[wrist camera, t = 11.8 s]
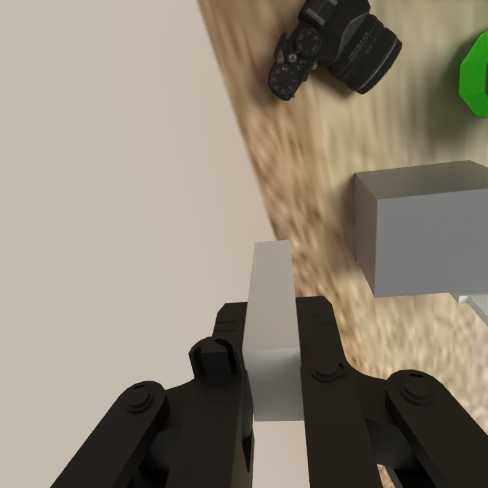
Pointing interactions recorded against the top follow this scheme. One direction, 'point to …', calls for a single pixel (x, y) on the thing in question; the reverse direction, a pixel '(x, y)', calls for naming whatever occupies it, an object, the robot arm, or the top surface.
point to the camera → (334, 47)
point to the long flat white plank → (474, 301)
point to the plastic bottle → (475, 77)
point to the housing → (423, 228)
